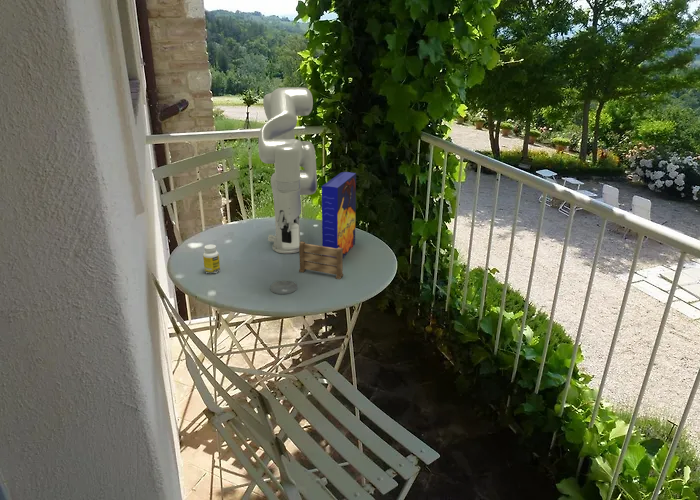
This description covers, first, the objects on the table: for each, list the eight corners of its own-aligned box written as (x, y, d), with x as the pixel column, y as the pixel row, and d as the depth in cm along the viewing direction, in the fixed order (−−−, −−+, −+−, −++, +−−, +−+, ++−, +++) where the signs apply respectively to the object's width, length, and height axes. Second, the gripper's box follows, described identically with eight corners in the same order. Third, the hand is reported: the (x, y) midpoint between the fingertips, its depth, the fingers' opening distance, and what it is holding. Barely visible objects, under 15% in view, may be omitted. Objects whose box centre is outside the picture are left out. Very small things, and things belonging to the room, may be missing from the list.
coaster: (265, 291, 167) (265, 289, 166) (278, 280, 174) (278, 278, 174) (289, 296, 164) (289, 294, 163) (301, 284, 171) (301, 283, 171)
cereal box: (337, 265, 187) (337, 187, 175) (322, 262, 188) (321, 185, 177) (355, 244, 206) (356, 172, 194) (341, 242, 208) (341, 171, 196)
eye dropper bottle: (296, 250, 161) (295, 215, 156) (280, 248, 162) (278, 213, 157) (301, 245, 164) (300, 211, 160) (285, 243, 166) (284, 209, 161)
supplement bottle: (215, 275, 177) (212, 250, 174) (201, 273, 179) (198, 248, 175) (223, 269, 182) (220, 244, 178) (210, 267, 184) (207, 242, 180)
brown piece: (299, 271, 181) (298, 243, 177) (302, 268, 184) (302, 240, 179) (340, 279, 176) (340, 250, 171) (343, 275, 178) (343, 247, 174)
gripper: (288, 177, 163) (290, 229, 171) (264, 191, 149) (267, 247, 156) (310, 179, 161) (311, 232, 168) (287, 193, 146) (289, 251, 154)
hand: (290, 239), depth 162 cm, fingers closed on eye dropper bottle, 4 cm apart
